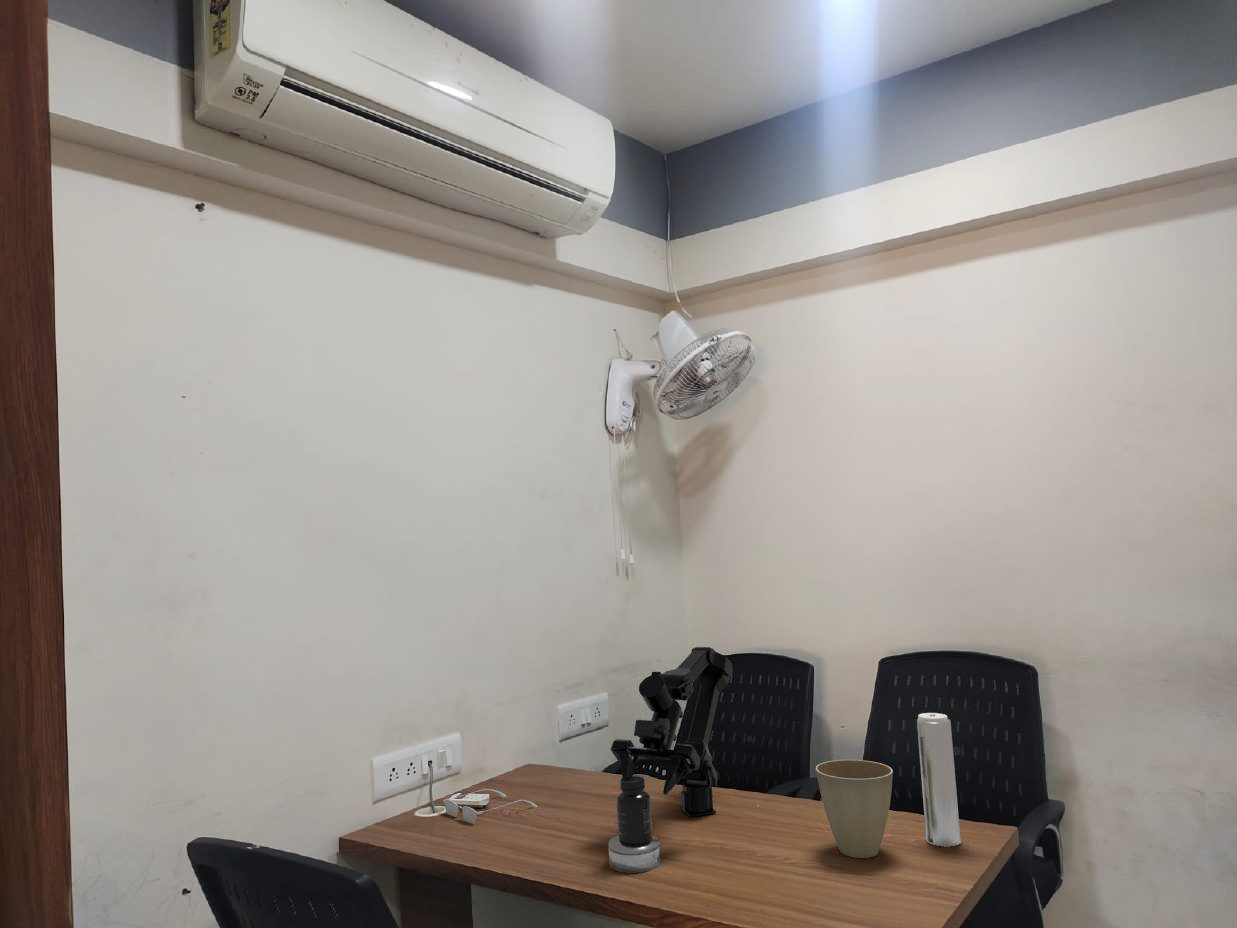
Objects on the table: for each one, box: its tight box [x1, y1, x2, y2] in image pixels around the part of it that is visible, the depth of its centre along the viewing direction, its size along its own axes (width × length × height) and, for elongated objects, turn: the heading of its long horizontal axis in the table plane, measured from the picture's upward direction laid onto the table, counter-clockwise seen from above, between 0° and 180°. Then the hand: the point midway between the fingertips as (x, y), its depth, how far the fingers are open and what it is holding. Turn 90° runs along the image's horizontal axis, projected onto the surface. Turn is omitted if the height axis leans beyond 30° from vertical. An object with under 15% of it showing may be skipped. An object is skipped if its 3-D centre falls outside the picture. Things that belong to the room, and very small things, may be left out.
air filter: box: [916, 712, 962, 848], centre depth 168 cm, size 6×6×25 cm
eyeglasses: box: [442, 788, 538, 825], centre depth 202 cm, size 15×18×4 cm
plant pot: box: [815, 759, 894, 859], centre depth 165 cm, size 15×15×16 cm
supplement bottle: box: [615, 775, 654, 847], centre depth 164 cm, size 7×7×12 cm
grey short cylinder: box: [607, 835, 661, 874], centre depth 164 cm, size 10×10×4 cm
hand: (644, 791), depth 170 cm, fingers open, 9 cm apart
